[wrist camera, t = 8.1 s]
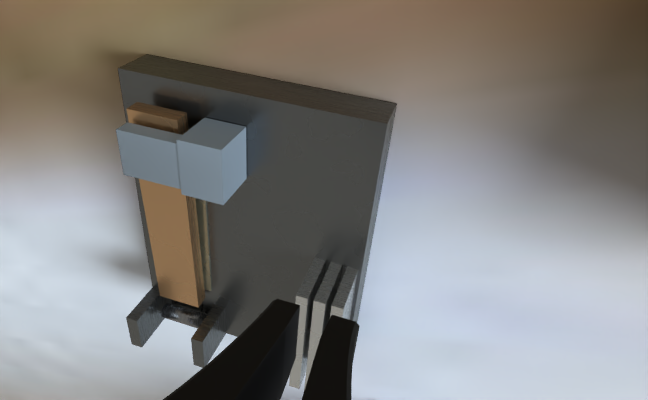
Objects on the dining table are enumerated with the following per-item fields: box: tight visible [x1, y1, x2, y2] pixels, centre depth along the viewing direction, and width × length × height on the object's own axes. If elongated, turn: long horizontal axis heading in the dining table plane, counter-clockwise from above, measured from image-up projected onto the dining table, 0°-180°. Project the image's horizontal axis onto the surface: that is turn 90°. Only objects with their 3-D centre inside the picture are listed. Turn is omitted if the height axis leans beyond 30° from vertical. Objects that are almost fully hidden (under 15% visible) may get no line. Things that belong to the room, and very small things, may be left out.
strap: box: [126, 102, 207, 328], centre depth 22 cm, size 12×2×1 cm, turn 175°
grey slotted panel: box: [118, 54, 397, 391], centre depth 22 cm, size 14×11×4 cm
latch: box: [116, 118, 247, 205], centre depth 19 cm, size 2×4×2 cm, turn 85°
